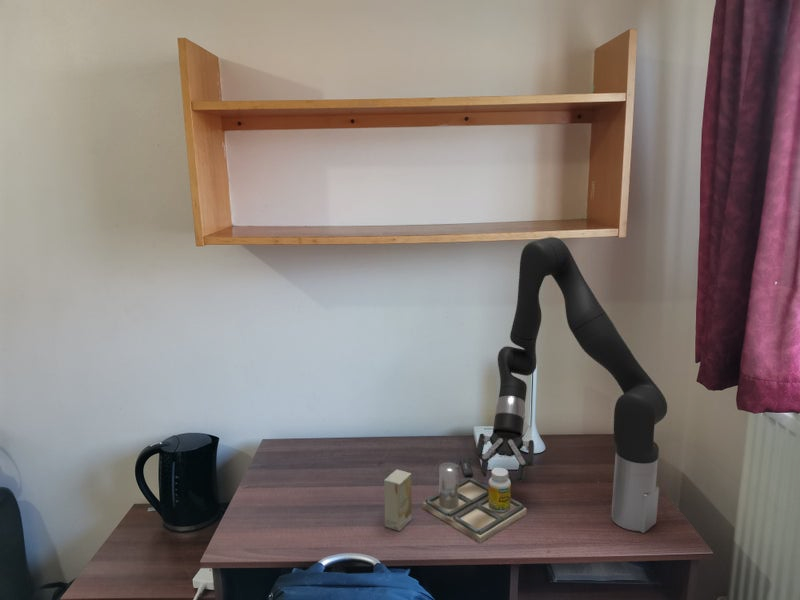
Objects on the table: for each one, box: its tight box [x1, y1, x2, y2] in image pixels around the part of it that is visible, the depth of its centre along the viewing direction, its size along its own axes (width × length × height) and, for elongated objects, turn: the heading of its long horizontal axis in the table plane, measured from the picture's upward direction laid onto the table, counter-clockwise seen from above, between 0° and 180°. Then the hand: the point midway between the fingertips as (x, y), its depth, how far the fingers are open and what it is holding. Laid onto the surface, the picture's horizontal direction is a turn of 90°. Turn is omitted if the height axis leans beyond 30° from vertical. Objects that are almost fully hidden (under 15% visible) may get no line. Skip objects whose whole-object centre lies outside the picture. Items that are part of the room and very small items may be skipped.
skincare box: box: [383, 468, 413, 532], centre depth 141 cm, size 6×4×12 cm
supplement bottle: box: [488, 467, 512, 512], centre depth 144 cm, size 5×5×10 cm
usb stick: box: [459, 457, 474, 479], centre depth 166 cm, size 10×3×2 cm, turn 1°
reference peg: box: [438, 462, 460, 509], centre depth 146 cm, size 5×5×10 cm
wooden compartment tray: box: [422, 478, 527, 544], centre depth 146 cm, size 19×17×2 cm
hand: (501, 478), depth 146 cm, fingers open, 8 cm apart
